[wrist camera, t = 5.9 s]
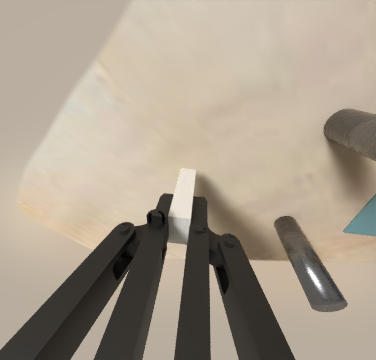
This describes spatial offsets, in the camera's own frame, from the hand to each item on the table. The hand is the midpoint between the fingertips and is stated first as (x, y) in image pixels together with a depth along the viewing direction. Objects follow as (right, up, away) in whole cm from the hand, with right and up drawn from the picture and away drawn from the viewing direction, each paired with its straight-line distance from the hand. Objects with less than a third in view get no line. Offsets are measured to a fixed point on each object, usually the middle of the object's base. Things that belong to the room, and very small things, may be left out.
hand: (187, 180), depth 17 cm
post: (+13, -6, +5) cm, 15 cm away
